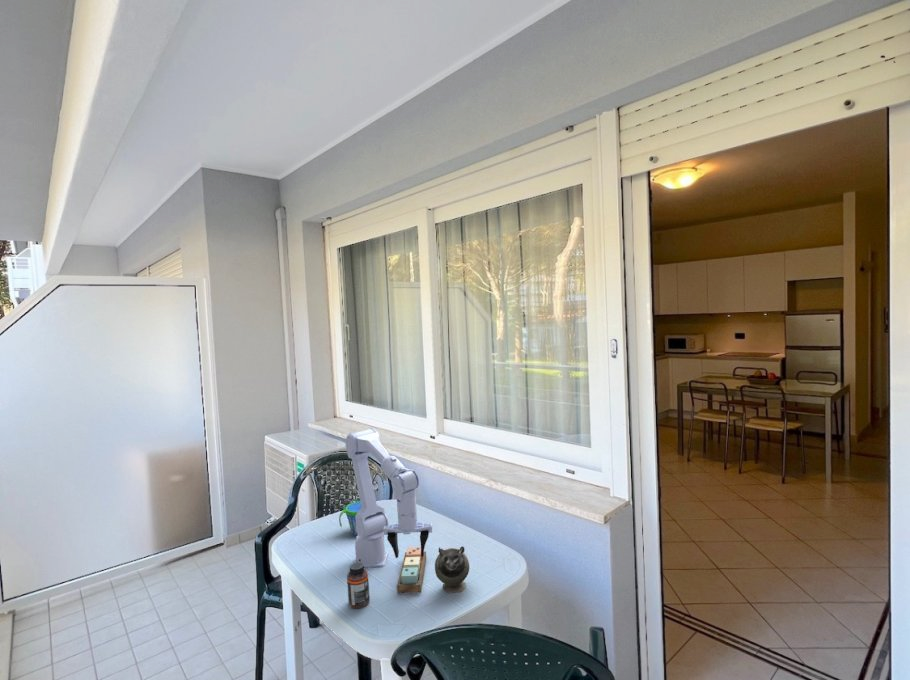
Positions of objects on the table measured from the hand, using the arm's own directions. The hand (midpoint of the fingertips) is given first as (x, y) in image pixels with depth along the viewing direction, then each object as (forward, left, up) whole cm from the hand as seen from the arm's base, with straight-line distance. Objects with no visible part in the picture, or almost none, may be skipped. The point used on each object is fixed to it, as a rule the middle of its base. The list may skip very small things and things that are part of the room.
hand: (409, 555), depth 143 cm
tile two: (0, 0, -8) cm, 8 cm away
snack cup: (-24, +37, -10) cm, 45 cm away
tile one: (0, +6, -8) cm, 10 cm away
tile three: (0, +12, -8) cm, 15 cm away
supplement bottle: (-14, -8, -10) cm, 19 cm away
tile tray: (0, +6, -9) cm, 11 cm away
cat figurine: (+13, -2, -10) cm, 16 cm away
